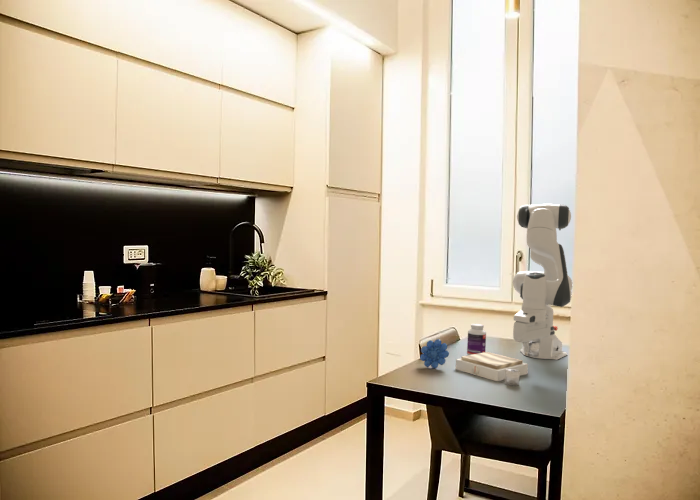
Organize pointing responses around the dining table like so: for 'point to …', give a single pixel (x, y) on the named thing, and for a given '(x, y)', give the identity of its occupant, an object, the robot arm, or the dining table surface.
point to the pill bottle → (476, 339)
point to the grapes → (434, 353)
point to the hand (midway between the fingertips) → (531, 350)
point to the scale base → (489, 370)
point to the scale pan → (492, 360)
